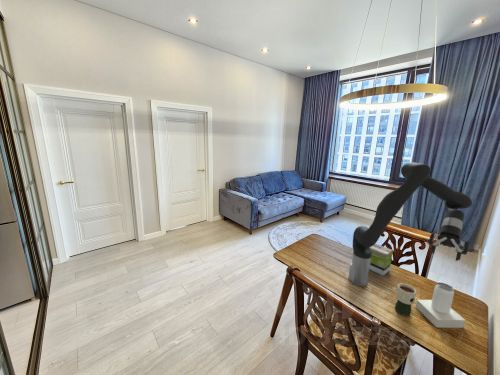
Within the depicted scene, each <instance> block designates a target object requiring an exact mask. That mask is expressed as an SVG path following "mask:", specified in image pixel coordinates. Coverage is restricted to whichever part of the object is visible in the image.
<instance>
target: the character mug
mask: <svg viewBox="0 0 500 375" xmlns="http://www.w3.org/2000/svg"><path fill="white" fill-rule="evenodd" d="M416 295H417V290H416V289H415V287H413V286H411V285H409V284H407V283H398V284H397V287H396V294H395V298H396V299H397V301H396V303H395V306H394V309H395V311H396V312H398V313H399V314H400V315H402V316H405V317H409V316H411V314H412V305H414V304H415V301H416Z"/></svg>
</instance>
